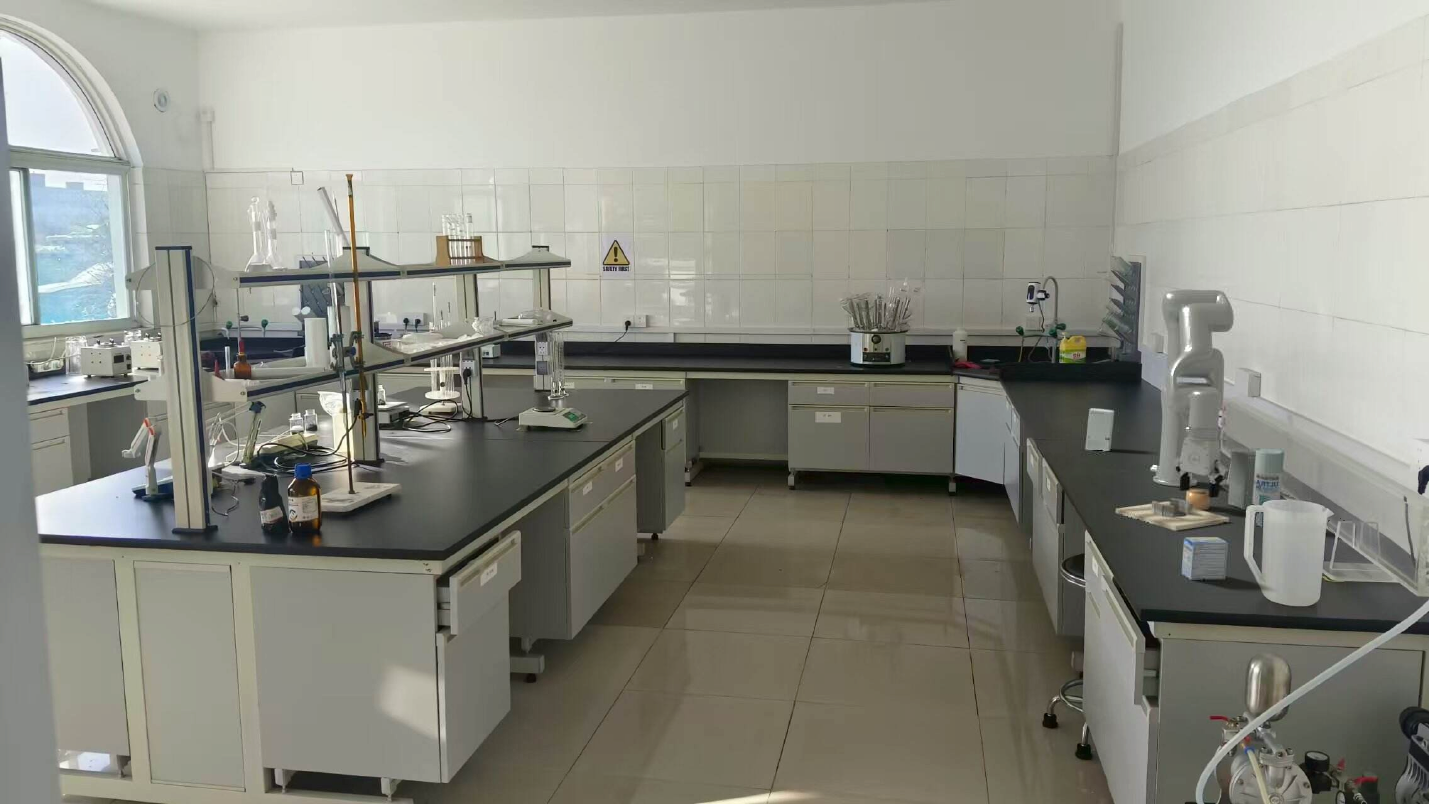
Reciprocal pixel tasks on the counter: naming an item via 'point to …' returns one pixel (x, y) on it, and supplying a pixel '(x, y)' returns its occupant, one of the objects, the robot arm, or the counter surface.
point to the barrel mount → (1172, 515)
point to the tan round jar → (1198, 498)
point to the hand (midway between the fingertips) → (1198, 493)
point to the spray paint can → (1267, 477)
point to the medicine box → (1204, 558)
